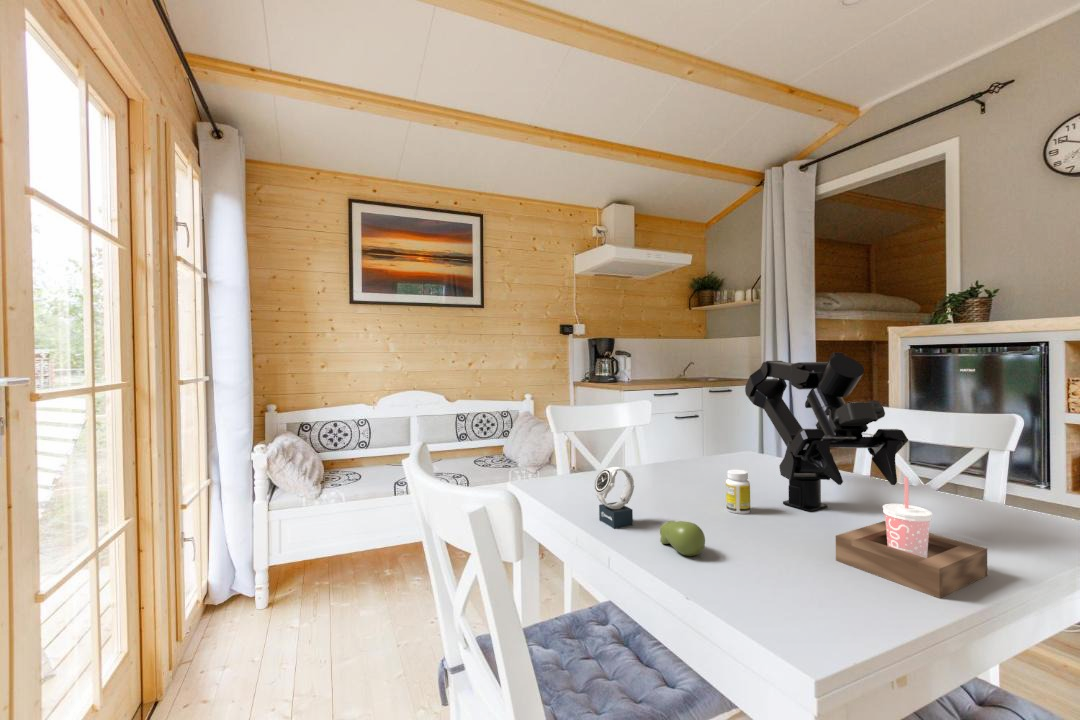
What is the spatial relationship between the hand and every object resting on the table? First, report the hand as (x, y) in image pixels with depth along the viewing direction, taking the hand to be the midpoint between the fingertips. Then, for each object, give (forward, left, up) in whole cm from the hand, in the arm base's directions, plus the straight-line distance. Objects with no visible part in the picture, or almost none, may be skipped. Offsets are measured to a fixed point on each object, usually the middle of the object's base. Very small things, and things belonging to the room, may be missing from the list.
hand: (867, 483), depth 84 cm
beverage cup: (+4, +8, -11) cm, 14 cm away
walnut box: (+4, +8, -11) cm, 14 cm away
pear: (+29, -15, -11) cm, 35 cm away
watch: (+31, -31, -11) cm, 45 cm away
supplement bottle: (+4, -24, -11) cm, 27 cm away
